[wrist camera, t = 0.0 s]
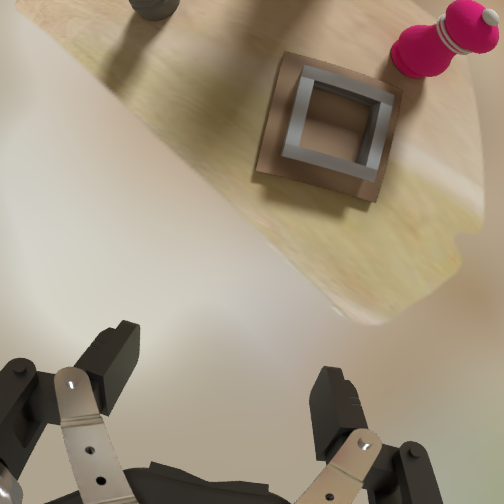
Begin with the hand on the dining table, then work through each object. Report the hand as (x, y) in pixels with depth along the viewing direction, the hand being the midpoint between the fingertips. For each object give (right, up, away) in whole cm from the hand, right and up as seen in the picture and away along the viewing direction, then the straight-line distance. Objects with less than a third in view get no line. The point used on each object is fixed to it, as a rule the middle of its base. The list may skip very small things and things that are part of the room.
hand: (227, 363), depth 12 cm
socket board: (+11, +21, +24) cm, 33 cm away
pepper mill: (+23, +32, +20) cm, 44 cm away
